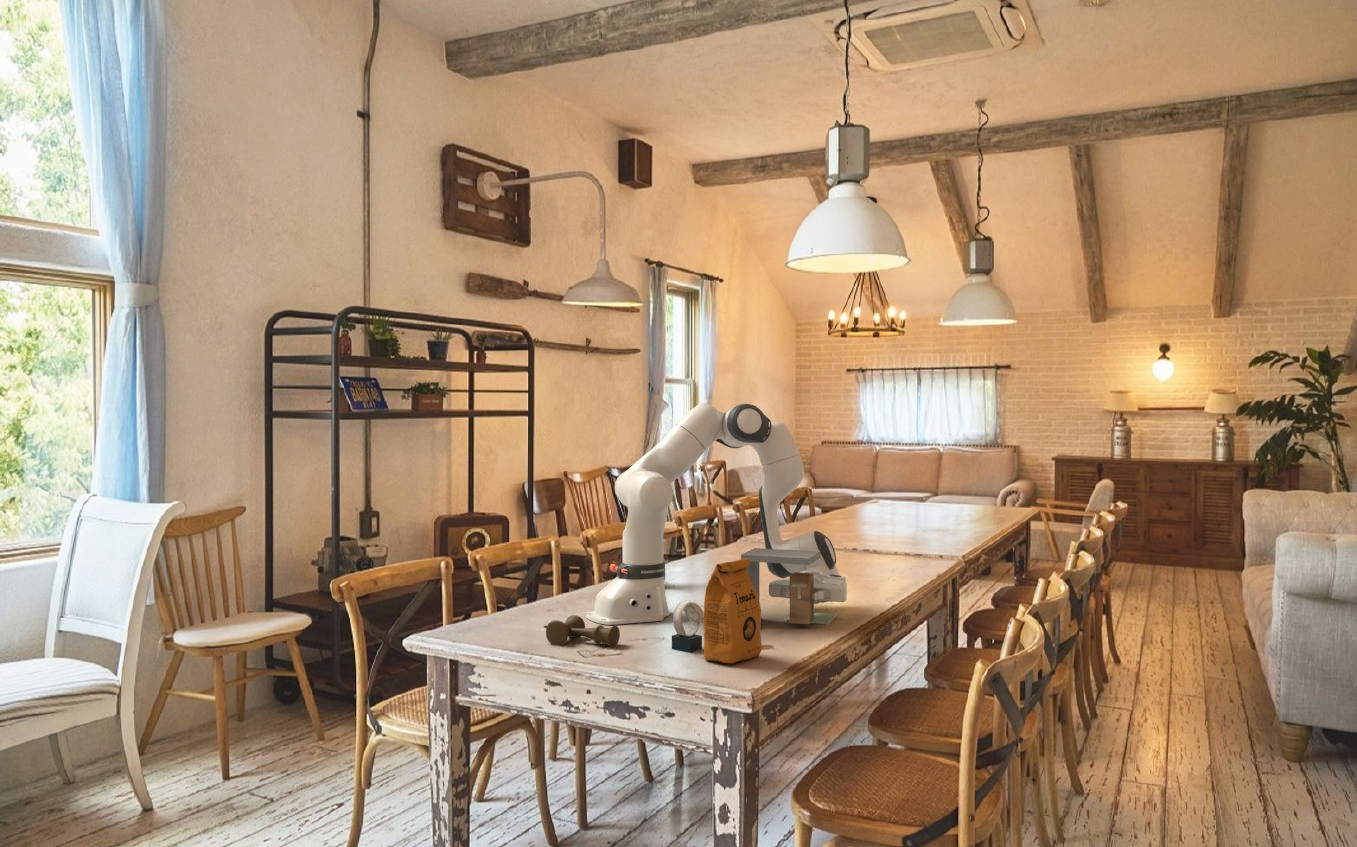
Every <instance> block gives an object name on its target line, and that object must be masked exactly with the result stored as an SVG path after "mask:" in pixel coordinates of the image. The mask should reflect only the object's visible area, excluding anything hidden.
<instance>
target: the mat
mask: <svg viewBox="0 0 1357 847" xmlns="http://www.w3.org/2000/svg"><path fill="white" fill-rule="evenodd" d="M837 616H838V614H837V613H825V612H814V621H812V622H811V623H810V624H817V625H829V624H830V623H831V622H833V620H834V619H835V618H836V617H837ZM785 621H786V622H790V616H789V617H787V618H786V620H785Z"/></svg>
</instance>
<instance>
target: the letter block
mask: <svg viewBox="0 0 1357 847" xmlns="http://www.w3.org/2000/svg"><path fill="white" fill-rule="evenodd" d="M789 580H790V598H789V617H790V621H789V623H790V624H801V625H810V624H812V623H811V622H812V621H814V613H815V604H814V600H811V593H812V592H814V573H805V572H794V573H793V574H791V575H790V576H789Z"/></svg>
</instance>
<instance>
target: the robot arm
mask: <svg viewBox="0 0 1357 847" xmlns="http://www.w3.org/2000/svg"><path fill="white" fill-rule="evenodd" d="M714 442H717V443H720V444H721V445H723V446H724V447H727V448H730V449H740V448H743V447H746V446H750V447H752V448H753V449H754V450H755V452H756V454H757V455H758V456H759V460H760V464H761V467H762V471H763V482H762V486H760V488H759V489H758V505H759V512H760V513H759V514H760V520H761V521H760V522H761V527H762V532H763V540H764V549H781V550H799V551H817V552H820V558H819V559H818V560H816V561H815V562H813V563H812V564H810V565H800V564H784V563H767V562H765V563H766V566H767V568H768V571H769V572H770V573H771V574H772V575H774V576H775V577H777V578H780V579H775V580H773V581H770V582H769V583H768V596H770V597H771V598H783V599H790V579H787V578H788V577H789V578H790V575H791V574H793V573H794V572H799V573H814V592H812V593H811V600H814V605H817V604H820V603H821V604H822V603H828V602H830V603H831V602H838V603H844V602H847V600H848V599H847V598H848V596H847V595H848V594H847V593H848V586H847V578H846V576H843V575H840V572H839V570H838V568H837V566H836V563H837V555H836V552H835V547H834V545H833V542H832V541H831V539H829V537H828V536H826V535H825V534H824V533H823V532H820V531H818V530H814V531H811V532H806V533H804V534H800V535H798V536H797V535H796V536H795V537H791V538H788V539H782V538H781V533H780V532H781V531H780V526H779V518H778V508H779V505H780V503H781V502H782V501H783V500H784V499H785V498H787V497H788V496H789V495H790V494H791V493H793V492H794V491H795V490H797V488H798V487H799V485H800V484H801V483H802V481H803V479H804V475H805V467H804V463H803V460H802V457H801V453H800V451H799V448H798V446H797V443H796V440H795V439H794V436H793V434H792V432H791V431H790V429H789V427H788V426H787V425H786V424H785V423H783V422H781V421H772V420H771V419H769V417H768V416H767V415H765V414H764V412H763V411H762V410H761V409H760V408H759V407H758V406H756V405H753V404H750V403H740V404H737V405H736V406H734V407H732V408H730V409H728V410H726V411H719V410H718V409H717V408H716V407H714V406H713V405H711V404H708V403H700V404H697V405H695V406H694V407H693V408H692V409H690V410H689V411H688V412H686V413H685V414H684V415H683V416H682V417H681V418H680V419H679V420H678V421H677V422H676V423H675V424H674V425H673V426H672V427H671V429H670V430H669V431H668V432H667V433H666V434H665V435H664V436H663V437H662V438H661V440H660V441H659V442H658V443H657V444H656V445H655V446H654V447H652V448H651V449H650V450H649V451H648V452H646V453H645V454H644V455H643V456H642V457H641V458H639V459H638V460H637V461H636V462H634V463H633V464H632V465H631V466H630V467H629V468H628V469H627V470H625V471H623V472H622V473H621V474H619V475H618V477H617V478H616V481H615V482H614V492H615V495H616V497H617V499H618V500H619V502H620V503H621V504H622V505H623V506H625V507H627V508H628V511H627V517H626V523H625V527H624V530H623V531H622V562H620V564H619V565H618V564H614V563H611V564H610V565H609V571H611V572H613V573H616V577H615V578H614V579H612V580H611V581H610V582H609V583H608V584H607V585H606V586H605V587H604V588H602V589H601V590H600V591H599V592H598V593H597V594H596V597H595V601H594V608H593V610H591V611H587V612H586V619H587V620H589V621H591V622H594V623H597V624H599V625H601V624H602V625H605V626H607V625H609V626H616V625H622V624H623V625H624V624H625V625H626V624H635V623H636V624H637V623H648V622H660V621H664V619H665V618H666V617H668V616H669V615H671V613H670V609H669V607H668V602H667V595H666V590H665V589H666V588H665V580H666V562H665V560H664V540H665V539H664V535H665V527H666V521H667V516H668V512H669V507H670V505H671V503H672V501H673V498H674V489H673V486H672V483H673V482H674V481H675V480H677V479H678V478H680V477H681V476H683V475H685V474H686V473H687V472H688V471H689V470H690V469H691V468H692V467H693V465H694V464H695V463H696V462H697V461H698V460H699V459H700V458H701V456H703V455H704V453H705V452H706V451H707V449H708V448H709V447H710V446H711V445H712V444H713V443H714Z"/></svg>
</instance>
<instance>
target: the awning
mask: <svg viewBox="0 0 1357 847" xmlns="http://www.w3.org/2000/svg"><path fill="white" fill-rule="evenodd" d="M746 558H748V560H749V562H750V565H749V566H748V567H746V570H747V571H748V574H749V577H750V580H751V583H752V585H753V586H754V588H755V590H756V593H757V596H758V598H759V599H760V563H766V562H767V563H784V564H800V565H810V564H812V563H813V562H815V561H816V560H818V559H819V558H820V552H817V551H799V550H781V549H765V548H760V547H754V548H752V549H750V550H748V551H745V552H744V553H741V554H740V560H741V559H746ZM767 563H766V564H767Z"/></svg>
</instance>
